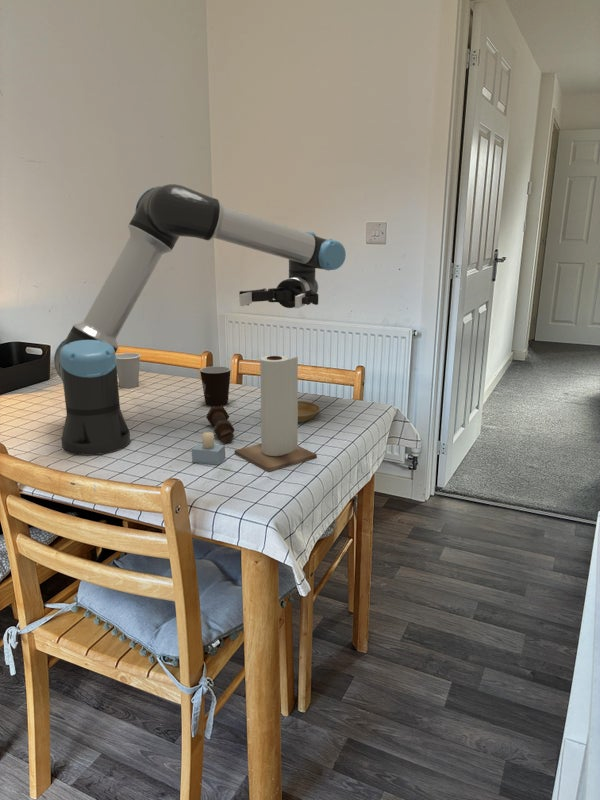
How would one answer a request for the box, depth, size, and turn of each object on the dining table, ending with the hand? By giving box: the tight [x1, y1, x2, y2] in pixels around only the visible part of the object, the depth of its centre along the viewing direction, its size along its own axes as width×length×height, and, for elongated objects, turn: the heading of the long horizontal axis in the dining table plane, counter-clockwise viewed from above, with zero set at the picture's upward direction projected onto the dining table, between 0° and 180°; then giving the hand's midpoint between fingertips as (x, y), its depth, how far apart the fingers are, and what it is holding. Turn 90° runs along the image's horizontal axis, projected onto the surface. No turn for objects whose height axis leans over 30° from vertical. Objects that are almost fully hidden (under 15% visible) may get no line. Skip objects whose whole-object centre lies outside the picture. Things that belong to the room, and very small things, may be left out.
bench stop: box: [191, 431, 226, 466], centre depth 126 cm, size 4×6×6 cm, turn 75°
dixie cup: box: [115, 352, 141, 389], centre depth 186 cm, size 8×8×10 cm
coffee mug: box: [199, 365, 232, 407], centre depth 169 cm, size 12×9×10 cm
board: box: [234, 443, 318, 473], centre depth 130 cm, size 13×13×1 cm
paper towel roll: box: [259, 355, 299, 456], centre depth 126 cm, size 7×6×21 cm
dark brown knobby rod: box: [205, 406, 235, 443], centre depth 143 cm, size 6×5×15 cm
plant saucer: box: [298, 400, 321, 423], centre depth 157 cm, size 15×15×3 cm
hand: (268, 301), depth 137 cm, fingers open, 13 cm apart
